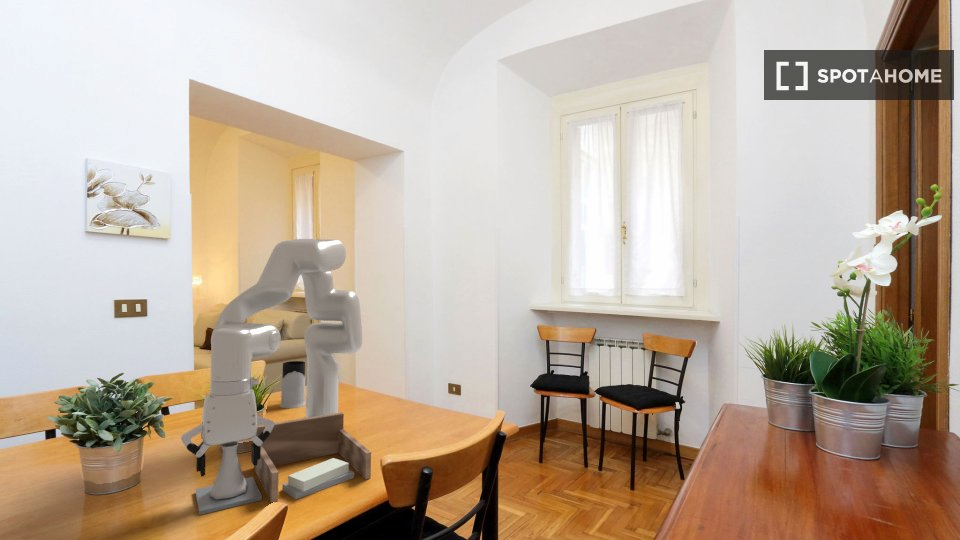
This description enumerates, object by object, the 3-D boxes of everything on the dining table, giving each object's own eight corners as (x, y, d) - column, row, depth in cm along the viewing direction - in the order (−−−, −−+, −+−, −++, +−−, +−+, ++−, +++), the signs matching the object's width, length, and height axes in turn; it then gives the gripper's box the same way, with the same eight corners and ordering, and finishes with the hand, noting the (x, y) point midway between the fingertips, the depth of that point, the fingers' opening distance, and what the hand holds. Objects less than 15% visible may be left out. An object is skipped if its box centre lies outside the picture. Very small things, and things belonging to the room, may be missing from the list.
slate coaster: (195, 492, 98) (195, 489, 98) (252, 480, 104) (252, 476, 104) (199, 515, 89) (199, 510, 89) (261, 499, 95) (261, 496, 95)
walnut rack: (253, 467, 111) (254, 426, 111) (340, 449, 123) (341, 412, 123) (271, 503, 94) (272, 453, 94) (370, 478, 106) (371, 434, 106)
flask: (243, 481, 102) (245, 435, 102) (251, 493, 96) (252, 445, 96) (206, 490, 97) (207, 442, 97) (211, 503, 91) (213, 453, 92)
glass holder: (280, 409, 159) (281, 365, 160) (279, 399, 172) (280, 359, 172) (307, 406, 163) (307, 364, 163) (304, 397, 176) (305, 357, 176)
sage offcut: (288, 484, 99) (288, 475, 99) (333, 466, 109) (333, 457, 109) (303, 491, 96) (304, 481, 96) (348, 471, 106) (348, 463, 106)
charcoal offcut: (282, 493, 100) (282, 484, 100) (339, 473, 110) (339, 465, 110) (296, 502, 96) (296, 492, 96) (354, 481, 106) (354, 472, 106)
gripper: (271, 378, 105) (269, 454, 105) (181, 388, 95) (179, 471, 95) (278, 385, 99) (277, 465, 99) (183, 396, 89) (180, 485, 89)
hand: (229, 468), depth 97 cm, fingers open, 9 cm apart
